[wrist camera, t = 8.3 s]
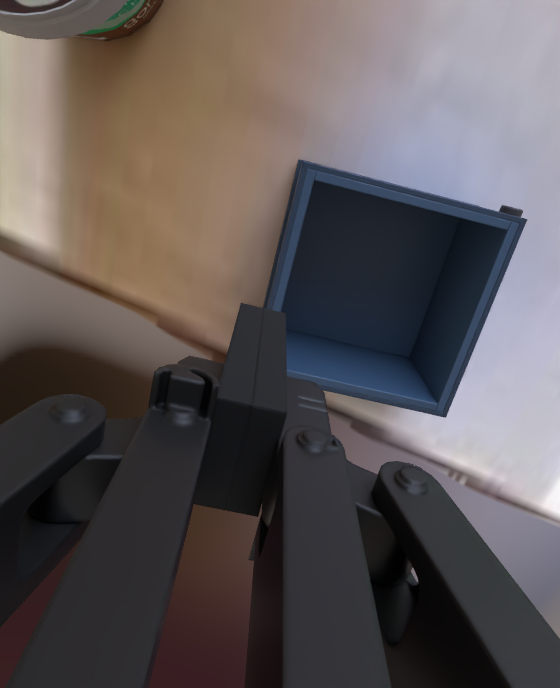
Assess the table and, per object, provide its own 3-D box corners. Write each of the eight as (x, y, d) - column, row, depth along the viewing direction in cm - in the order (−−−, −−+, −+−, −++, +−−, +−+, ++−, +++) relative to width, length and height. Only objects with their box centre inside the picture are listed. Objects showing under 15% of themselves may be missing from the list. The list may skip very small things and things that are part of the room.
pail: (305, 152, 26) (540, 214, 27) (300, 153, 34) (484, 201, 35) (249, 379, 31) (452, 425, 32) (256, 335, 38) (420, 373, 39)
